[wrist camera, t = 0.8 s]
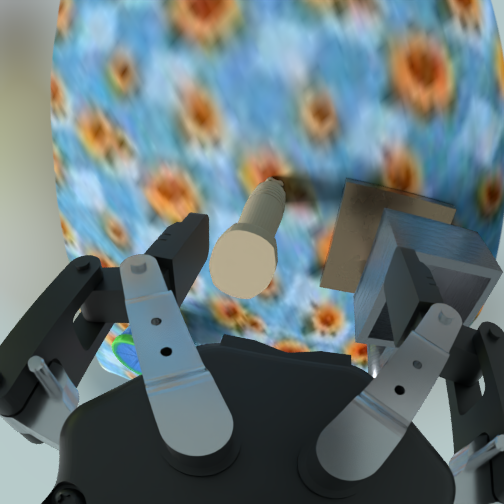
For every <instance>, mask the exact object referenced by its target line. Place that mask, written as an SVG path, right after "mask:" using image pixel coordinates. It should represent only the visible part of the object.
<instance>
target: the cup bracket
mask: <svg viewBox="0 0 504 504" xmlns="http://www.w3.org/2000/svg"><path fill="white" fill-rule="evenodd" d="M455 212H456V208H455V207H454V206H453V205H451V204H447V203H444V202H440V201H437V200H434V199H430V198H426V197H423V196H419V195H415V194H412V193H408V192H404V191H400V190H396V189H392V188H388V187H384V186H380V185H375V184H371V183H367V182H362V181H358V180H353V179H349V178H346V180H345V185H344V189H343V194H342V198H341V202H340V207H339V211H338V215H337V219H336V223H335V227H334V231H333V235H332V239H331V243H330V247H329V250H328V254H327V258H326V262H325V265H324V269H323V272H322V276H321V280H320V287H323V288H329V289H334V290H339V291H345V292H350V293H355V294H354V313H355V342H357V343H364V344H367V351H368V373H369V374H370V375H371V376H373V377H374V378H375V377H376V376H377V374H378V373H379V372H380V371H381V370H382V368H383V367H384V366H385V365H386V364H387V362H388V361H389V360H390V359H391V358H392V356H393V355H394V354H395V352H396V351H397V350H398V349H399V348H398V347H395V344H394V338H393V332H392V327H391V322H390V317H389V312H388V307H387V302H386V297H385V293H384V281H385V277H386V274H387V271H388V268H389V265H390V263H391V260H392V257H393V254H394V251H395V249H396V247H397V246H400V247H406V248H411V249H414V250H415V252H416V254H417V256H418V258H419V261H420V262H423V263H424V264H425V265H426V266H427V267H428V268H429V269H430V271H431V273H432V275H433V278H434V280H435V282H436V286H437V287H438V289H439V292H440V294H441V296H442V299H443V301H444V304H446V305H449V306H451V307H452V308H454V309H455V310H456V311H457V312H458V313H459V315H460V316H461V319H462V325H464V326H467V327H469V325H470V324H471V323H472V321H473V320H474V318H475V317H476V315H477V314H478V312H479V311H480V309H481V308H482V306H483V305H484V303H485V301H486V300H487V298H488V297H489V295H490V293H491V292H492V290H493V288H494V287H495V285H496V283H497V281H498V280H499V278H500V276H501V274H502V273H503V271H502V270H501V268H500V266H499V265H498V263H497V261H496V260H495V258H494V257H493V255H492V253H491V252H490V250H489V249H488V247H487V246H486V244H485V243H484V241H483V240H482V238H481V237H480V235H479V234H478V233H477V232H475V231H472V230H468V229H465V228H461V227H458V226H454V225H451V222H452V220H453V217H454V215H455Z"/></svg>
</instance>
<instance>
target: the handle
mask: <svg viewBox="0 0 504 504" xmlns="http://www.w3.org/2000/svg"><path fill="white" fill-rule="evenodd" d="M285 198H286V193H285V191H284V189H283V182H282V181H281V180H280V181H278V180H275V179H274V178H273V177H268V178H267V180H266V181H265V182H263V183H260V184H259V185H258V186H257V187H256V188H255V189H254V191H253V192H252V194H251V195H250V197H249V198H248V200H247V202H246V204H245V206H244V209H243V211H242V214H241V216H240V219H239V222H238V223H235V224H234V225H232V226H231V227H230V228H229V229H227V230H226V231H225V232H224V233H223V234H222V235H221V236H220V238H219V239H218V240H217V242H216V244H215V246H214V249H213V251H212V254H211V258H210V262H209V269H210V274H211V278H212V281H213V284H214V285H215V286H216V287H217V288H218V289H219V290H221V291H222V292H224V293H226V294H228V295H230V296H233V297H236V298H241V299H251V298H253V297H254V296H256V295H258V294H259V293H261V292H262V291H263V290H265V289H266V288H267V286H268V285H269V283H270V281H271V279H272V277H273V275H274V272H275V270H276V266H277V262H278V257H277V244H276V239H275V238H274V237H275V234H276V232H277V229H278V227H279V225H280V222H281V220H282V216H283V213H284V208H285Z"/></svg>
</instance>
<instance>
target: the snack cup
mask: <svg viewBox="0 0 504 504" xmlns="http://www.w3.org/2000/svg"><path fill="white" fill-rule="evenodd" d="M112 350H113V353H114V354H115V356H116V357H117V359H118V360H119V361H120V362H121V363H122V364H123V365H125V366H126V367H127V368H129V369H130V370H132V371H133V372H135V373H137V374H139V375H141V374H142V372H141V368H140V364H139V361H138V357H137V353H136V349H135V345H134V341H133V337H132V332H131V328H130V325H129V326H128V327H127V328H126V329H125V331H124V332H123V333H122V334H121V335H119V336H117V337H116V338H115V340H114V342H113V343H112Z"/></svg>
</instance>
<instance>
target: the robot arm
mask: <svg viewBox="0 0 504 504" xmlns="http://www.w3.org/2000/svg"><path fill="white" fill-rule="evenodd" d="M208 252H209V217H208V215H206V214H199V213H189V214H188V216H187V217H186V218H185V219H184V220H183V221H182V222H176V223H174V224H172V225H170V226H169V227H167V228H166V230H165V231H164V232H163V233H162V234H161V235H160V236H159V237H158V240H156V241H155V242H154V243H153V244H152V245H151V247H150V248H149V249H148V250H147V251H146V252H145V253H144V254H139V255H134V256H131V257H128V258H127V259H125V260H124V261H123V262H122V263H121V265H120V267H110V268H102V266H101V262H100V259H99V258H97V257H96V256H91V255H86V256H81V257H78V258H76V259H74V260H73V261H71V262H70V263H69V264H68V265H67V266H66V267H65V269H64V270H63V271H62V272H61V273H60V274H59V275H58V276H57V277H56V278H55V280H54V281H53V282H52V283H51V284H50V285H49V286H48V287H47V288H46V290H45V291H44V292H43V293H42V294H41V295H40V296H39V298H38V299H37V300H36V301H35V302H34V303H33V305H32V306H31V307H30V308H29V309H28V311H27V312H26V313H25V314H24V316H23V317H22V318H21V320H19V322H18V323H17V324H16V326H15V327H14V328H13V329H12V331H11V332H10V333H9V335H8V336H7V337H6V339H5V340H4V341H3V343H2V344H1V345H0V416H1V417H2V418H3V419H4V420H5V421H6V422H7V423H8V424H9V425H10V426H11V427H13V428H14V429H15V430H16V431H17V432H19V433H20V434H22V435H23V436H24V437H25V438H26V439H28V440H29V441H30V442H32V443H35V444H41V443H46V444H48V445H50V446H51V447H53V448H55V449H57V450H59V454H60V458H59V472H58V477H57V481H56V484H55V486H54V488H53V490H52V492H51V493H50V494H49V495H48V497H47V498H46V499H45V500H44V501H43V502H42V503H41V504H504V332H503V331H502V329H500V327H498V326H497V325H496V324H494V323H491V322H483V323H482V324H481V325H480V326H479V328H478V330H475V329H472V328H469V327H467V326H464V325H462V319H461V316H460V315H459V313H458V312H457V311H456V310H455V309H454V308H452V307H451V306H449V305H446V304H444V301H443V299H442V296H441V294H440V292H439V289H438V287H437V286H436V282H435V280H434V278H433V275H432V273H431V271H430V269H429V268H428V267H427V266H426V265H425V264H424V263H423V262H420V261H419V258H418V256H417V254H416V252H415V250H414V249H411V248H406V247H400V246H397V247H396V249H395V251H394V254H393V257H392V260H391V263H390V265H389V268H388V271H387V274H386V277H385V281H384V293H385V297H386V302H387V307H388V312H389V317H390V322H391V327H392V332H393V338H394V344H395V347H398V348H399V349H398V350H397V351H396V352H395V354H394V355H393V356H392V358H391V359H390V360H389V361H388V362H387V364H386V365H385V366H384V367H383V368H382V370H381V371H380V372H379V373H378V374H377V376H376V377H375V378H374V377H373V376H371V375H370V374H369V373H367V372H365V371H364V370H362V369H360V368H358V367H356V366H353V365H351V355H346V354H338V353H330V352H323V351H315V352H296V353H287V352H283V351H281V350H278V349H276V348H273V347H270V346H268V345H265V344H263V343H260V342H258V341H255V340H251V339H245V338H240V337H235V336H231V335H226V334H224V335H223V338H222V341H221V343H213V344H205V345H200V346H197V347H195V345H194V342H193V340H192V338H191V335H190V333H189V331H188V329H187V326H186V324H185V322H184V319H183V317H182V314H181V312H180V310H179V308H180V306H181V304H182V302H183V301H184V299H185V297H186V295H187V293H188V292H189V290H190V288H191V286H192V284H193V283H194V281H195V279H196V277H197V276H198V274H199V272H200V270H201V269H202V267H203V265H204V263H205V262H206V260H207V257H208ZM79 308H80V309H81V313H80V314H79V315H78V317H77V318H76V319H75V321H74V323H73V318H74V316H75V314H76V312H77V311H78V310H79ZM114 323H130V328H131V332H132V337H133V341H134V345H135V349H136V353H137V357H138V361H139V364H140V368H141V372H142V374H141V375H139V376H138V377H136V378H134V379H132V380H130V381H128V382H126V383H124V384H122V385H120V386H118V387H116V388H114V389H112V390H110V391H108V392H106V393H104V394H102V395H100V396H98V397H96V398H94V399H92V400H90V401H88V402H86V403H84V404H82V405H80V406H79V407H77V405H78V402H79V393H78V390H77V389H76V388H77V386H78V384H79V382H80V381H81V379H82V377H83V375H84V373H85V372H86V370H87V368H88V366H89V364H90V363H91V361H92V359H93V358H94V356H95V354H96V353H97V351H98V349H99V347H100V346H101V344H102V342H103V341H104V339H105V337H106V336H107V334H108V332H109V331H110V329H111V327H112V326H113V324H114ZM439 376H440V377H442V378H445V379H446V385H447V392H448V398H449V405H450V412H451V422H452V431H453V442H454V455H453V457H452V458H451V460H450V462H449V466H448V465H447V463H446V462H445V461H444V460H443V458H442V457H441V456H440V455H439V454H438V452H437V451H436V450H435V449H434V447H433V446H432V445H431V444H430V443H429V441H428V440H427V439H426V438H425V437H424V436H423V434H422V433H421V432H420V431H419V429H418V428H417V427H416V426H415V425H414V423H413V422H412V420H413V418H414V416H415V415H416V413H417V412H418V410H419V409H420V407H421V406H422V404H423V402H424V401H425V399H426V397H427V396H428V394H429V392H430V391H431V389H432V387H433V386H434V384H435V382H436V380H437V378H438V377H439ZM482 376H483V378H484V382H485V391H484V394H483V396H482V394H481V390H480V385H479V381H478V380H479V379H480V378H481V377H482Z"/></svg>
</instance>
